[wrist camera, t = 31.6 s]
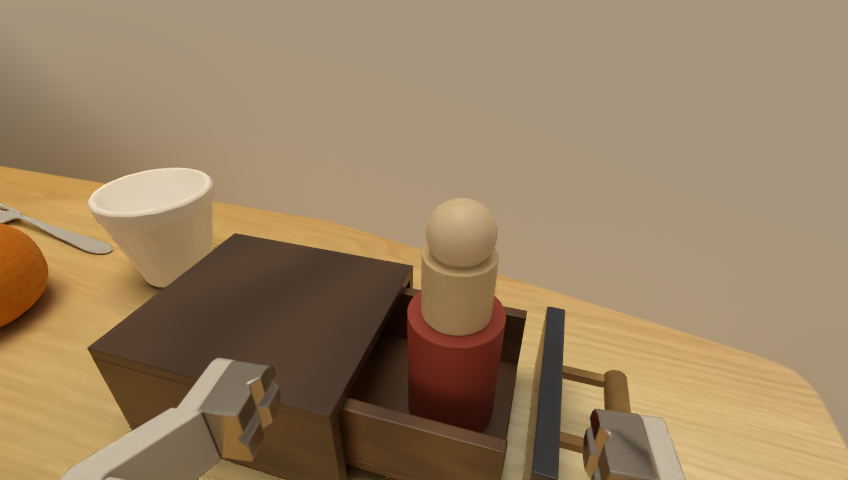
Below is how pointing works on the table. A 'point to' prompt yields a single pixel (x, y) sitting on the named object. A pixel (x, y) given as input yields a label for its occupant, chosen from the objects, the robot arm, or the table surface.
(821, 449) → the table surface
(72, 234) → the fork
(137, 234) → the cup
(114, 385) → the cabinet
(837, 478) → the table surface
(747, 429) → the table surface
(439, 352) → the doll
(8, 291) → the fruit
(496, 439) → the drawer
